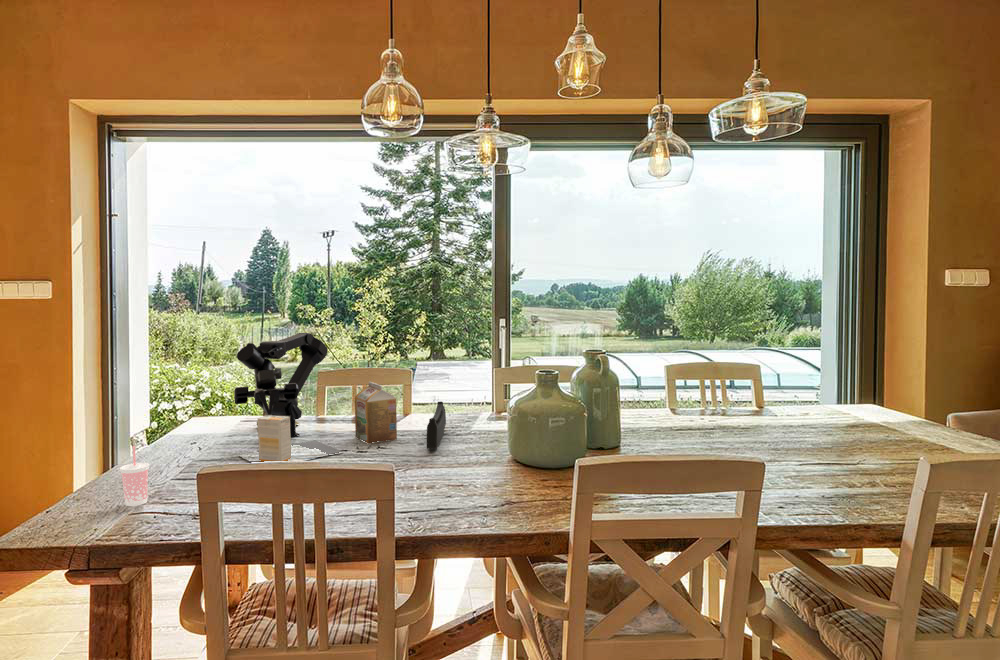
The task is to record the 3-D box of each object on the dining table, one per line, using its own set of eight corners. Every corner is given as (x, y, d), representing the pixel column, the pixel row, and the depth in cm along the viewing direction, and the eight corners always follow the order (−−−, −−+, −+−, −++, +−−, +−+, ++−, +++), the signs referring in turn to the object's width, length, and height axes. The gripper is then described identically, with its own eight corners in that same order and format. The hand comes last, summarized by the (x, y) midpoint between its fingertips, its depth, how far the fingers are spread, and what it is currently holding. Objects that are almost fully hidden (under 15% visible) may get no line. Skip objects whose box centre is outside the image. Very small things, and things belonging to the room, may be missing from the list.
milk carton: (396, 439, 207) (396, 384, 205) (367, 444, 201) (366, 387, 199) (384, 433, 215) (383, 380, 214) (355, 437, 209) (354, 382, 208)
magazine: (435, 426, 187) (444, 383, 215) (425, 426, 187) (435, 383, 215) (437, 473, 193) (446, 425, 221) (427, 473, 193) (437, 425, 221)
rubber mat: (238, 456, 186) (238, 454, 186) (315, 441, 203) (315, 440, 203) (262, 469, 172) (262, 467, 172) (342, 453, 189) (342, 451, 189)
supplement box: (292, 459, 180) (291, 416, 179) (281, 464, 176) (280, 419, 175) (269, 457, 183) (268, 414, 182) (258, 461, 178) (256, 417, 177)
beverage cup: (147, 505, 145) (144, 448, 143) (117, 508, 143) (115, 450, 142) (153, 497, 150) (151, 441, 149) (125, 499, 149) (123, 443, 148)
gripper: (233, 361, 188) (237, 403, 179) (296, 358, 196) (303, 397, 187) (232, 383, 195) (236, 424, 186) (293, 379, 204) (299, 417, 195)
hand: (269, 415), depth 188 cm, fingers closed
